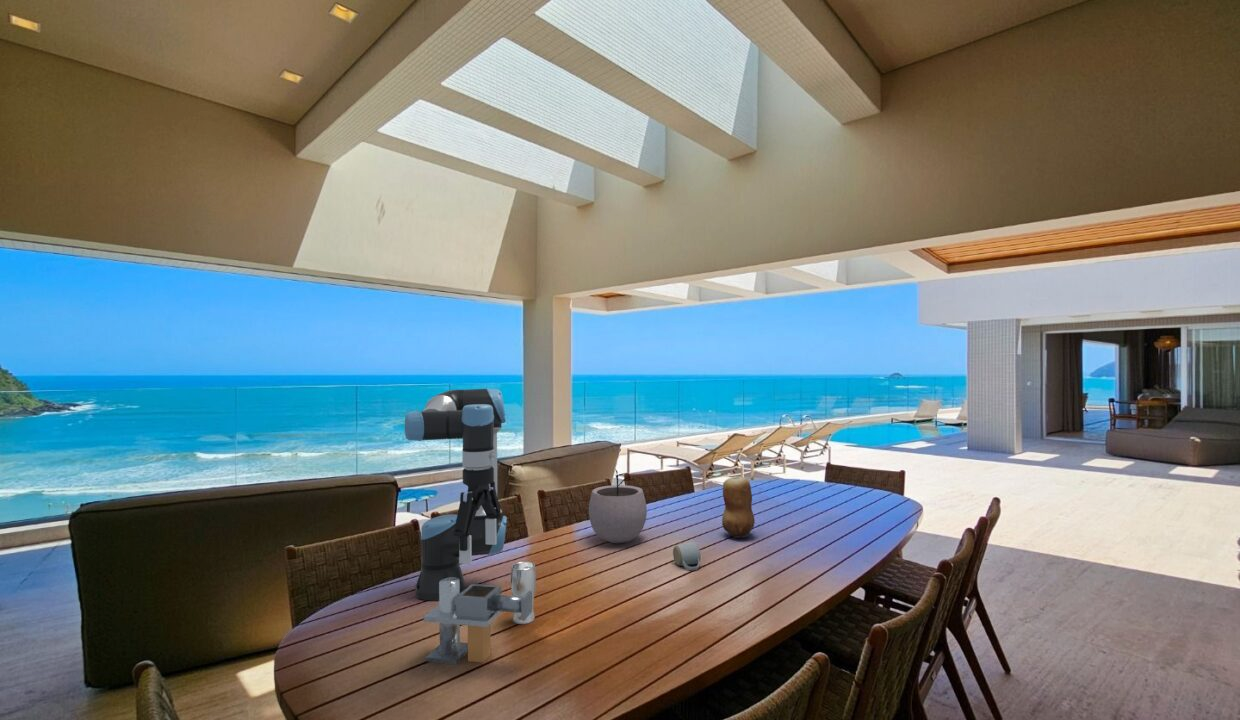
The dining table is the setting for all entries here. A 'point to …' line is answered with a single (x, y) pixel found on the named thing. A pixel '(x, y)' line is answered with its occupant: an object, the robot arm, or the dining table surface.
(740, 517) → the butternut squash
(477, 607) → the bracket
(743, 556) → the dining table surface
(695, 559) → the ceramic mug
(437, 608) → the metal pedestal stand
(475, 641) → the tan wooden block
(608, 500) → the plant pot
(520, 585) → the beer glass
